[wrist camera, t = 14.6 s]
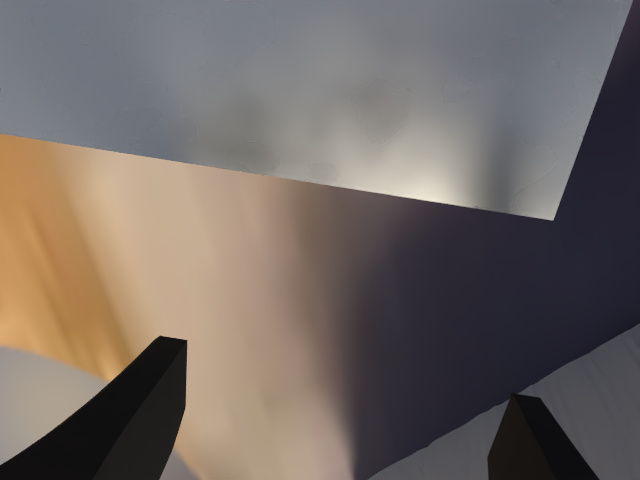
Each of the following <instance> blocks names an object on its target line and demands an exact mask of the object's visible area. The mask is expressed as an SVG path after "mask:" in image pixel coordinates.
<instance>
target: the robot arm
mask: <svg viewBox="0 0 640 480" xmlns="http://www.w3.org/2000/svg"><path fill="white" fill-rule="evenodd" d="M186 367H187V340H182V339H176V338H170V337H164V336H159V337H158V338H156V339H155V340H154V341H153V342H152V343H151V344H150V345H149V346H148V347H147V348H146V349H145V350H144V351H143V352H142V353H141V354H140V355H139V356H138V357H137V358H136V359H135V360H134V361H133V362H132V363H131V364H130V365H128V366H127V367H126V368H125V369H124V370H123V371H122V372H121V373H120V374H119V375H118V376H117V377H116V378H115V379H113V380H112V381H111V382H110V383H109V384H108V385H107V386H106V387H105V388H103V389H102V390H101V391H100V392H99V393H98V394H97V395H95V397H93V398H92V399H91V400H90V401H88V402H87V403H86V404H85V405H84V406H82V407H81V408H80V409H79V410H77V411H76V412H75V413H74V414H72V415H71V416H70V417H69V418H67V419H66V420H65V421H64V422H62V423H61V424H60V425H58V426H57V427H56V428H54V429H53V430H52V431H50V432H49V433H48V434H47V435H45V436H44V437H42V438H41V439H39V440H38V441H37V442H35V443H34V444H32V445H31V446H29V447H28V448H26V449H25V450H24V451H22V452H21V453H19V454H18V455H16V456H14V457H13V458H11V459H10V460H8V461H6V462H5V463H3V464H2V465H0V480H159V479H160V477H161V474H162V472H163V470H164V468H165V465H166V463H167V461H168V459H169V456H170V454H171V452H172V449H173V446H174V443H175V440H176V437H177V434H178V431H179V427H180V424H181V421H182V417H183V414H184V411H185V405H186ZM487 463H488V479H489V480H600V479H599V478H598V477H597V475H596V474H595V473H594V471H593V470H592V469H591V467H590V466H589V465H588V463H587V462H586V461H585V459H584V458H583V457H582V455H581V454H580V453H579V451H578V450H577V449H576V447H575V446H574V444H573V443H572V442H571V440H570V439H569V438H568V436H567V435H566V433H565V432H564V431H563V429H562V428H561V426H560V425H559V424H558V422H557V421H556V419H555V418H554V416H553V415H552V414H551V412H550V411H549V409H548V408H547V407H546V405H545V404H544V403H543V401H542V400H541V398H540V397H533V396H527V395H521V394H515V393H512V394H511V397H510V400H509V402H508V405H507V407H506V410H505V412H504V415H503V418H502V420H501V423H500V425H499V428H498V431H497V433H496V436H495V438H494V441H493V444H492V446H491V449H490V451H489V454H488V457H487Z"/></svg>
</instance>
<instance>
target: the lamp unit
mask: <svg viewBox="0 0 640 480" xmlns="http://www.w3.org/2000/svg"><path fill="white" fill-rule="evenodd" d="M632 2H633V0H0V134H6V135H13V136H19V137H26V138H32V139H38V140H45V141H51V142H57V143H64V144H70V145H76V146H83V147H89V148H95V149H102V150H108V151H114V152H121V153H127V154H134V155H140V156H146V157H153V158H159V159H165V160H172V161H178V162H184V163H191V164H197V165H203V166H210V167H216V168H222V169H229V170H235V171H242V172H248V173H254V174H261V175H267V176H273V177H280V178H286V179H292V180H299V181H305V182H311V183H318V184H324V185H330V186H337V187H343V188H349V189H356V190H362V191H369V192H375V193H381V194H388V195H394V196H400V197H407V198H413V199H419V200H426V201H432V202H438V203H445V204H451V205H457V206H464V207H470V208H477V209H483V210H489V211H496V212H502V213H508V214H515V215H521V216H527V217H534V218H540V219H546V220H554V217H555V214H556V211H557V209H558V206H559V203H560V200H561V198H562V195H563V192H564V189H565V187H566V184H567V181H568V178H569V176H570V173H571V170H572V167H573V165H574V162H575V159H576V156H577V154H578V151H579V148H580V145H581V142H582V140H583V137H584V134H585V131H586V129H587V126H588V123H589V120H590V118H591V115H592V112H593V109H594V107H595V104H596V101H597V98H598V96H599V93H600V90H601V87H602V85H603V82H604V79H605V76H606V74H607V71H608V68H609V65H610V63H611V60H612V57H613V54H614V51H615V49H616V46H617V43H618V40H619V38H620V35H621V32H622V29H623V27H624V24H625V21H626V18H627V16H628V13H629V10H630V7H631V5H632Z"/></svg>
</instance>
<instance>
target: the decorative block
mask: <svg viewBox="0 0 640 480" xmlns="http://www.w3.org/2000/svg"><path fill="white" fill-rule="evenodd" d="M517 394H521V395H527V396H533V397H540V398H541V400H542V401H543V403H544V404H545V405H546V407H547V408H548V409H549V411H550V412H551V414H552V415H553V416H554V418H555V419H556V421H557V422H558V424H559V425H560V426H561V428H562V429H563V431H564V432H565V433H566V435H567V436H568V438H569V439H570V440H571V442H572V443H573V444H574V446H575V447H576V449H577V450H578V451H579V453H580V454H581V455H582V457H583V458H584V459H585V461H586V462H587V463H588V465H589V466H590V467H591V469H592V470H593V471H594V473H595V474H596V475H597V477H598V478H599V479H600V480H640V323H639V324H638V325H636V326H635V327H633V328H631V329H630V330H628V331H626V332H624V333H622V334H620V335H618V336H617V337H615V338H613V339H611V340H609V341H608V342H606V343H604V344H602V345H600V346H599V347H597V348H596V349H594V350H593V351H591V352H590V353H588V354H586V355H584V356H582V357H580V358H578V359H576V360H574V361H572V362H569V363H568V364H566V365H564V366H562V367H561V368H559V369H557V370H556V371H554V372H552V373H551V374H549V375H548V376H546V377H545V378H543V379H541V380H540V381H539V382H537V383H536V384H534V385H530V386H529V387H527V388H526V389H525V390H523V391H522V392H519V393H517ZM509 400H510V399H509ZM509 400H507V401H506V402H504V403H502V404H501V405H496V406H494V407H493V408H491V409H490V410H489V411H486V412H484V413H481V414H479V415H478V416H476V417H475V418H473V419H472V420H471V421H469V422H468V423H466V424H465V425H463V426H461V427H459V428H457V429H455V430H453V431H451V432H449V433H448V434H446V435H444V436H442V437H440V438H438V439H436V440H434V441H433V442H432V443H431V444H430V445H429V446H428V447H426V448H423V449H421V450H418V451H417V452H415V453H413V454H412V455H410V456H408V457H406V458H404V459H402V460H400V461H398V462H396V463H394V464H392V465H390V466H388V467H387V468H385V469H383V470H381V471H380V472H378V473H376V474H375V475H373V476H372V477H371V478H369V479H368V480H489V479H488V463H487V457H488V454H489V451H490V449H491V446H492V444H493V441H494V438H495V436H496V433H497V431H498V428H499V425H500V423H501V420H502V418H503V415H504V412H505V410H506V407H507V405H508V402H509Z"/></svg>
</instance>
